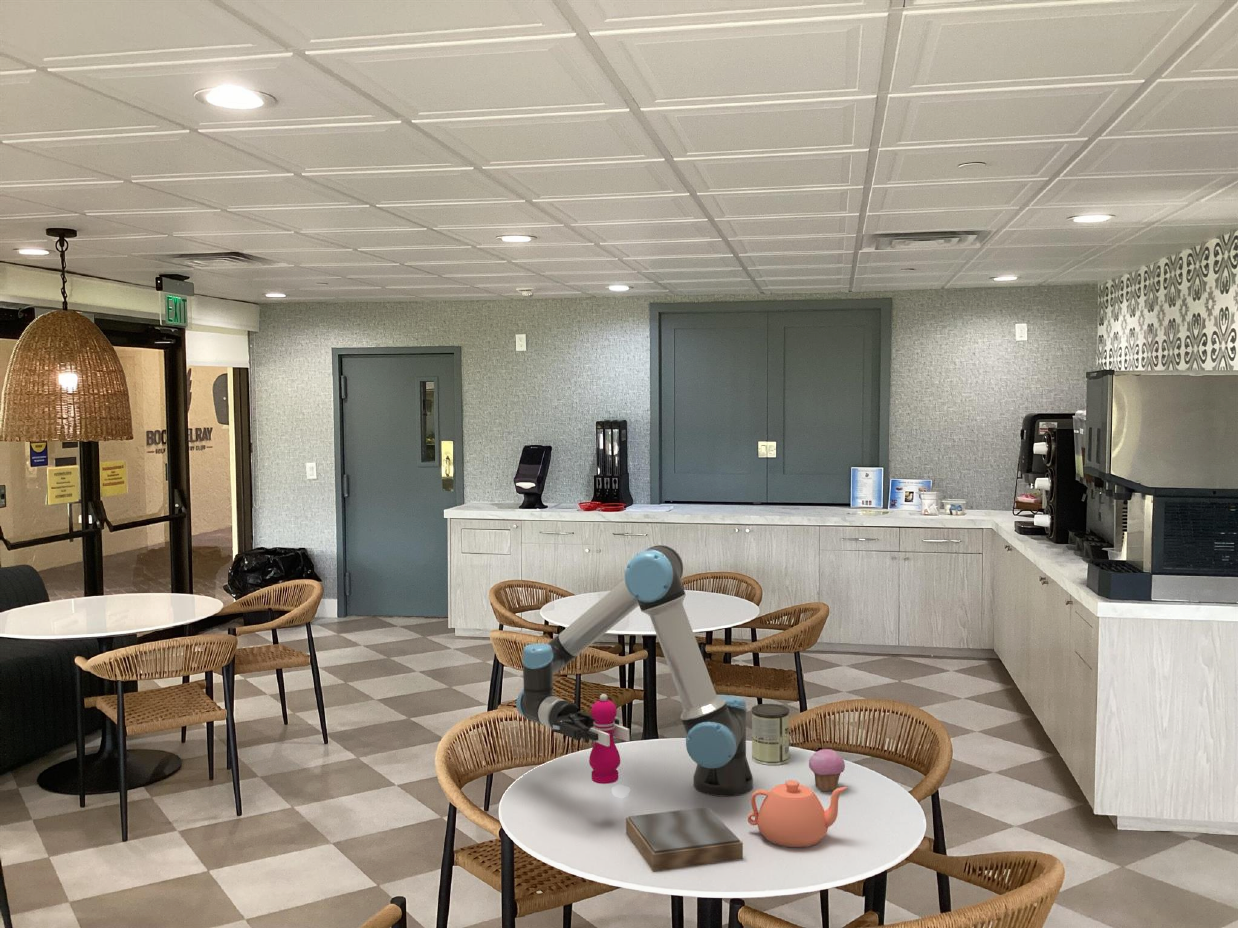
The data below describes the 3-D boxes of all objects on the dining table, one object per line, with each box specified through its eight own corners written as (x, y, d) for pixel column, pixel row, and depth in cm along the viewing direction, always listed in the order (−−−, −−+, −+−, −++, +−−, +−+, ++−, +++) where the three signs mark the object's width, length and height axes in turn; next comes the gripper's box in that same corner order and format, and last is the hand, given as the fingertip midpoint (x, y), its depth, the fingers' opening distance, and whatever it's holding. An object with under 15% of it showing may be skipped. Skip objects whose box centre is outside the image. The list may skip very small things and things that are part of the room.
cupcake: (839, 782, 254) (839, 744, 254) (848, 795, 246) (848, 755, 245) (805, 783, 254) (805, 745, 254) (812, 796, 245) (812, 756, 245)
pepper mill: (624, 775, 232) (623, 690, 231) (614, 786, 225) (613, 699, 224) (595, 772, 234) (594, 688, 233) (584, 782, 227) (583, 696, 226)
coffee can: (750, 752, 278) (750, 702, 278) (787, 753, 277) (787, 703, 277) (752, 764, 268) (752, 713, 268) (790, 765, 267) (790, 714, 266)
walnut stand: (708, 822, 229) (708, 805, 229) (742, 858, 210) (742, 840, 210) (626, 832, 224) (626, 815, 224) (653, 871, 205) (653, 852, 204)
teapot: (847, 827, 226) (847, 773, 226) (847, 856, 211) (847, 798, 211) (750, 819, 231) (750, 766, 231) (744, 847, 216) (743, 791, 216)
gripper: (590, 723, 249) (649, 745, 230) (529, 737, 238) (586, 762, 219) (589, 693, 249) (648, 713, 230) (529, 706, 237) (585, 729, 219)
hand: (618, 737), depth 225 cm, fingers closed on pepper mill, 5 cm apart
